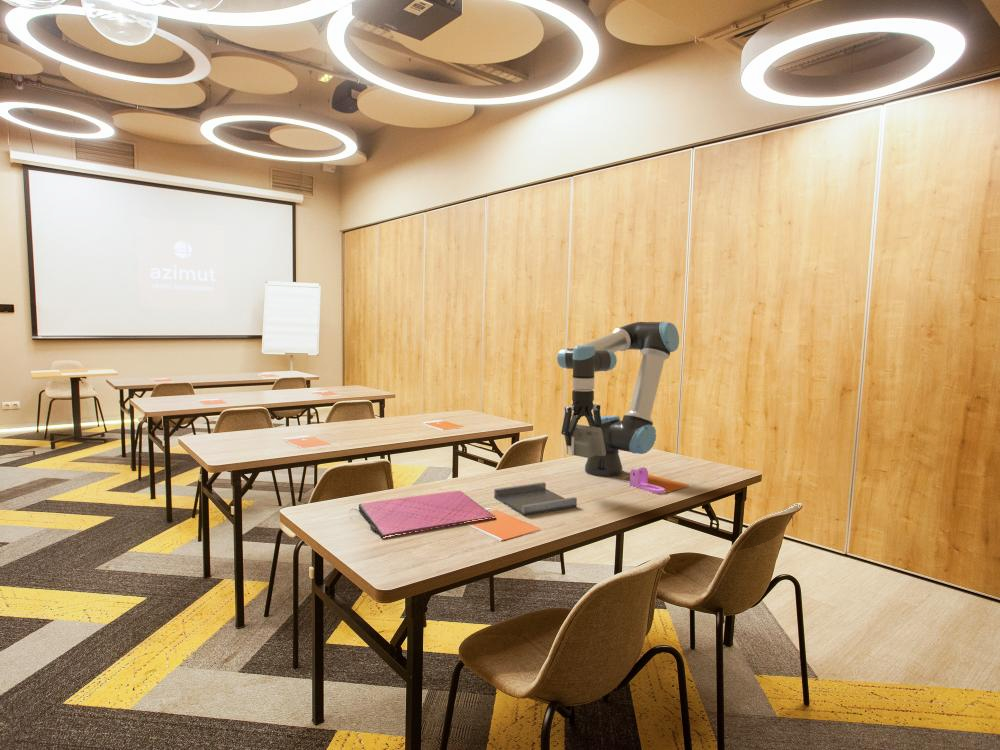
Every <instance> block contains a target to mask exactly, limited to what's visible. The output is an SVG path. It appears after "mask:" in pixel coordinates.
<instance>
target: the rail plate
mask: <svg viewBox="0 0 1000 750" xmlns="http://www.w3.org/2000/svg"><path fill="white" fill-rule="evenodd" d="M546 484H547V483H546V482H544V481H542V482H535V483H528V484H520V485H514V486H506V487H499V488H494V491H493V493H494V494H493V496H494V497H493V498H495V499H496V500H498V501H499V502H501V503H502V502H503V503H502V504H504V505H506V506H507V505H508V506H507V507H509V508H510V507H511V508H510V509H512V510H513V511H515V512H517V513H518V512H519V514H520V515H522V516H524V517H528V516H532V515H533V514H534V515H538V514H539V513H540V514H545V513H544V512H546V513H550V512H557V511H563V510H567V509H574V508H577V506H578V505H577V504H578V503H577V502H578V499H577V497H576V496H573V497H567V498H565V497H563V496H561V495H560V494H557V493H555V492H553V491H551V490H549V489H547V487H546ZM527 515H528V516H527Z"/></svg>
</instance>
